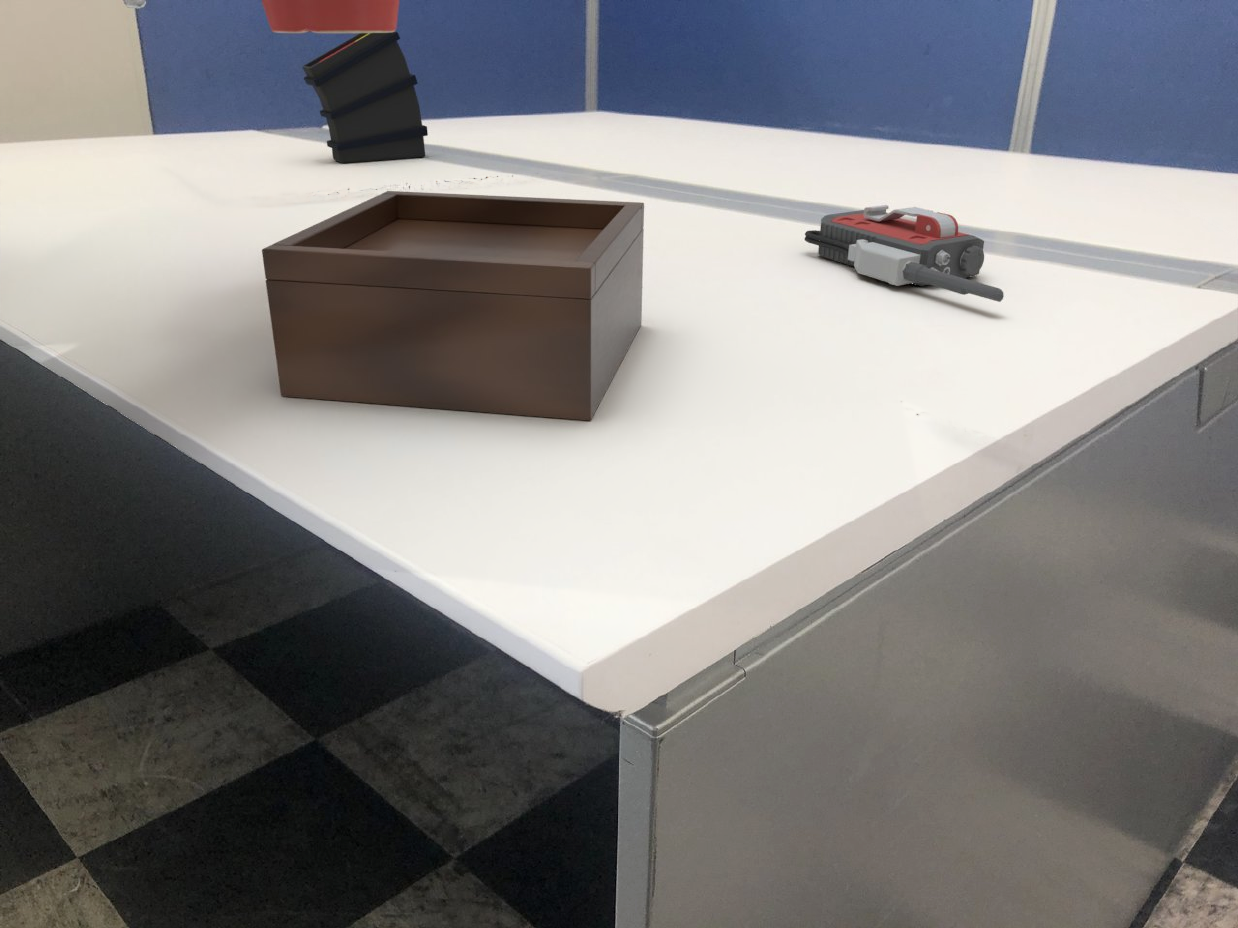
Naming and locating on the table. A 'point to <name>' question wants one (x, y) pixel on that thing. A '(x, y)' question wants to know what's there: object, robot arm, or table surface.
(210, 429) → the table surface
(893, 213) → the walkie-talkie
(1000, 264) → the table surface
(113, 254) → the table surface
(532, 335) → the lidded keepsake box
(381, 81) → the magazine
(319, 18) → the flower pot
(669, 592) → the table surface
